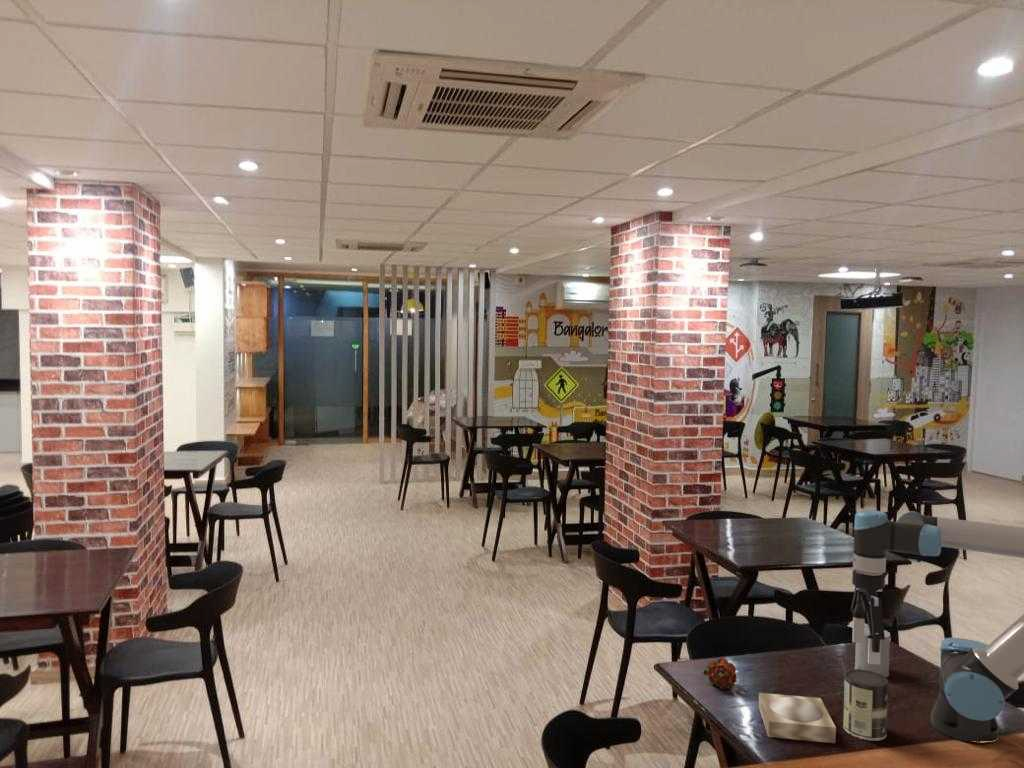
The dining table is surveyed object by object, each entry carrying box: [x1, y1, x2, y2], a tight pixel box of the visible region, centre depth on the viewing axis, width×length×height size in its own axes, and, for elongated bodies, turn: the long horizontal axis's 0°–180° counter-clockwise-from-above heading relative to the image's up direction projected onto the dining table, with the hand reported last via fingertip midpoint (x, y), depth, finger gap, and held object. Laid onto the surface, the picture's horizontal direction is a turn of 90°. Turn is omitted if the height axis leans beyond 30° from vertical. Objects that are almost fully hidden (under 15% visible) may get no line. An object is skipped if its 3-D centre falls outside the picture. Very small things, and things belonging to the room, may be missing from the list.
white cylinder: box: [854, 625, 891, 678], centre depth 226 cm, size 10×10×12 cm
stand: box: [758, 692, 837, 744], centre depth 193 cm, size 16×16×4 cm
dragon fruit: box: [702, 657, 738, 690], centre depth 215 cm, size 8×8×12 cm
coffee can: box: [842, 668, 889, 742], centre depth 190 cm, size 10×10×14 cm
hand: (865, 652), depth 189 cm, fingers open, 13 cm apart
